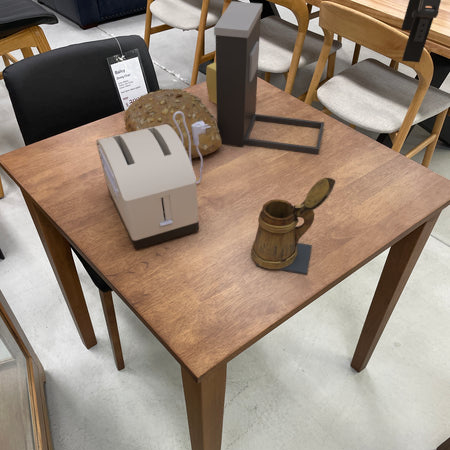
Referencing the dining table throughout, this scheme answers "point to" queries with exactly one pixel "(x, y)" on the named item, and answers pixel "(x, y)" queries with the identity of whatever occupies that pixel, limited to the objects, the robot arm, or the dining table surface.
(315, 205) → the wooden mug
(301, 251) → the mat
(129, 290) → the dining table surface
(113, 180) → the toaster
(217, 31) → the coffee maker
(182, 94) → the bread
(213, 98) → the cheese
